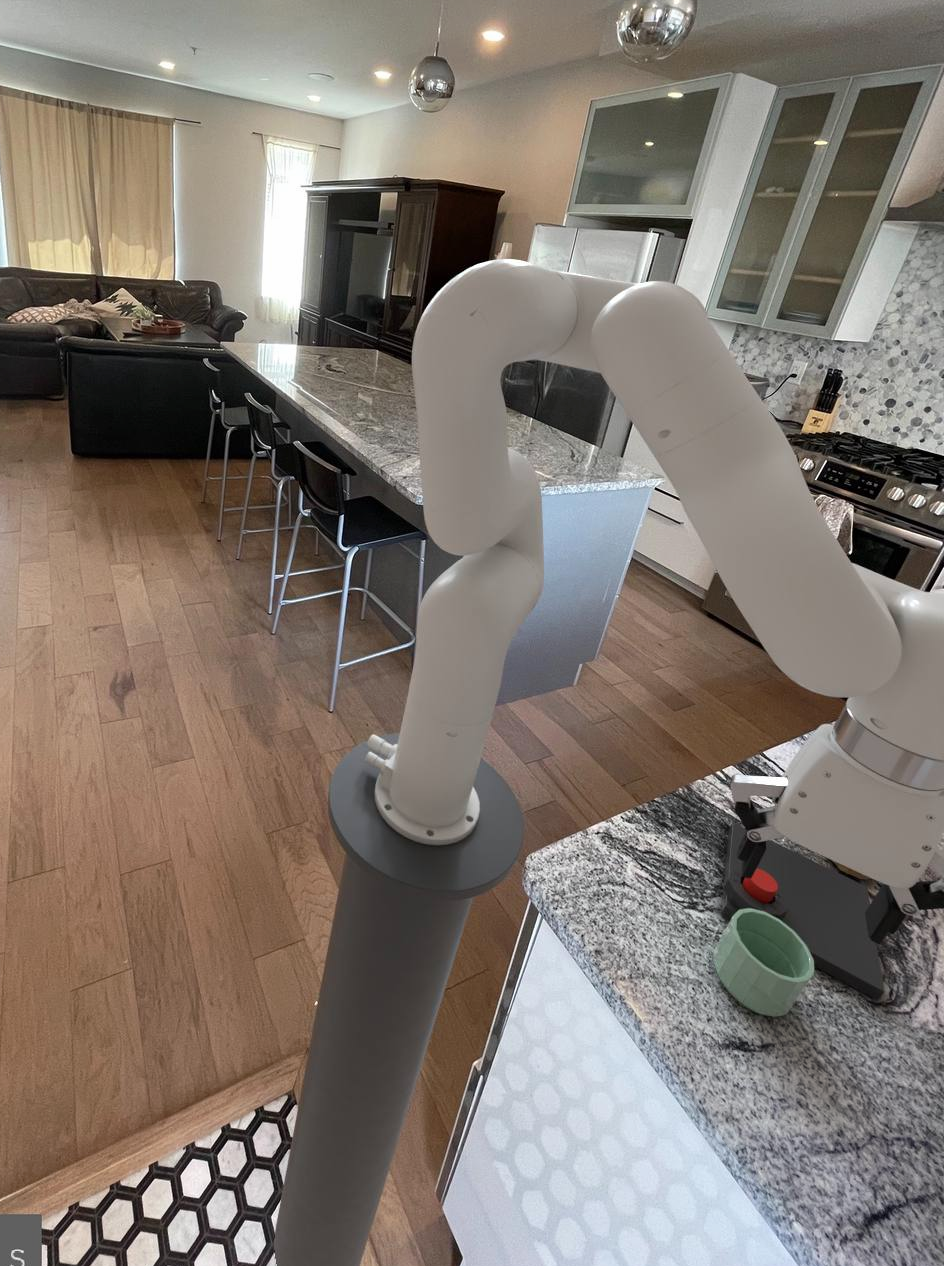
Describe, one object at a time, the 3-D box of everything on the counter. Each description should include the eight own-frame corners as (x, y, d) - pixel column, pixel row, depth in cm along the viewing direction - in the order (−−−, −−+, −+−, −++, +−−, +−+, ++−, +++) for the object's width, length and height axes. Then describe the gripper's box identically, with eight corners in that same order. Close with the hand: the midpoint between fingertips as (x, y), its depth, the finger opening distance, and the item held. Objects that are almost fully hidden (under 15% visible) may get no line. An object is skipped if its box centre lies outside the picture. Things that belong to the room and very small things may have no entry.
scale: (716, 913, 67) (727, 893, 66) (725, 828, 78) (734, 810, 77) (878, 1001, 60) (892, 981, 59) (862, 895, 72) (873, 876, 71)
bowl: (708, 987, 59) (730, 949, 57) (714, 931, 65) (734, 895, 63) (790, 1036, 56) (816, 998, 54) (789, 973, 62) (812, 936, 60)
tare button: (741, 893, 66) (748, 881, 66) (743, 874, 69) (748, 863, 68) (771, 908, 65) (778, 897, 65) (771, 889, 68) (778, 877, 67)
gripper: (1021, 771, 48) (918, 922, 55) (769, 678, 56) (704, 820, 63) (1057, 834, 42) (936, 996, 49) (768, 720, 50) (697, 872, 57)
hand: (806, 897), depth 56 cm, fingers open, 9 cm apart
